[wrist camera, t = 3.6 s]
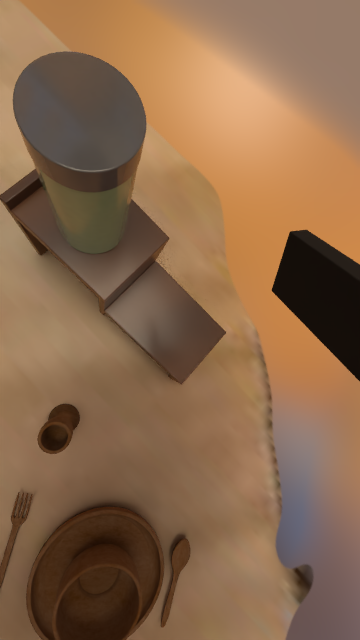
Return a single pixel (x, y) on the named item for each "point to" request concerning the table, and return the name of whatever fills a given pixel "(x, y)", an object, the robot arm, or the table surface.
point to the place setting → (93, 563)
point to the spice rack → (125, 281)
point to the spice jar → (82, 143)
